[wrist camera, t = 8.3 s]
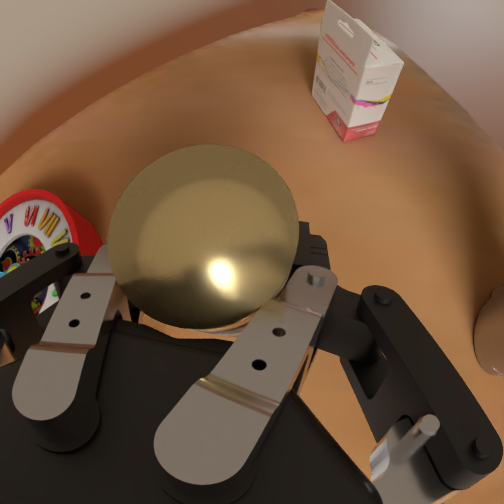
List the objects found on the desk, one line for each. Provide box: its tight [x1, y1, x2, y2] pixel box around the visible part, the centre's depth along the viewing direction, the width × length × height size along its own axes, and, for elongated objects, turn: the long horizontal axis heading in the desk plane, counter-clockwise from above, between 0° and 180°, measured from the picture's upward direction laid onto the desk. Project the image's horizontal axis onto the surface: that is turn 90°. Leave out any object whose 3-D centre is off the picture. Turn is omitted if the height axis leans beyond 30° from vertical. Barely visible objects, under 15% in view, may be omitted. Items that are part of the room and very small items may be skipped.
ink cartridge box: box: [312, 0, 404, 142], centre depth 27 cm, size 9×5×15 cm, turn 20°
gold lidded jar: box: [108, 144, 299, 337], centre depth 11 cm, size 4×4×10 cm
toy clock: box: [0, 189, 103, 316], centre depth 27 cm, size 20×6×20 cm
